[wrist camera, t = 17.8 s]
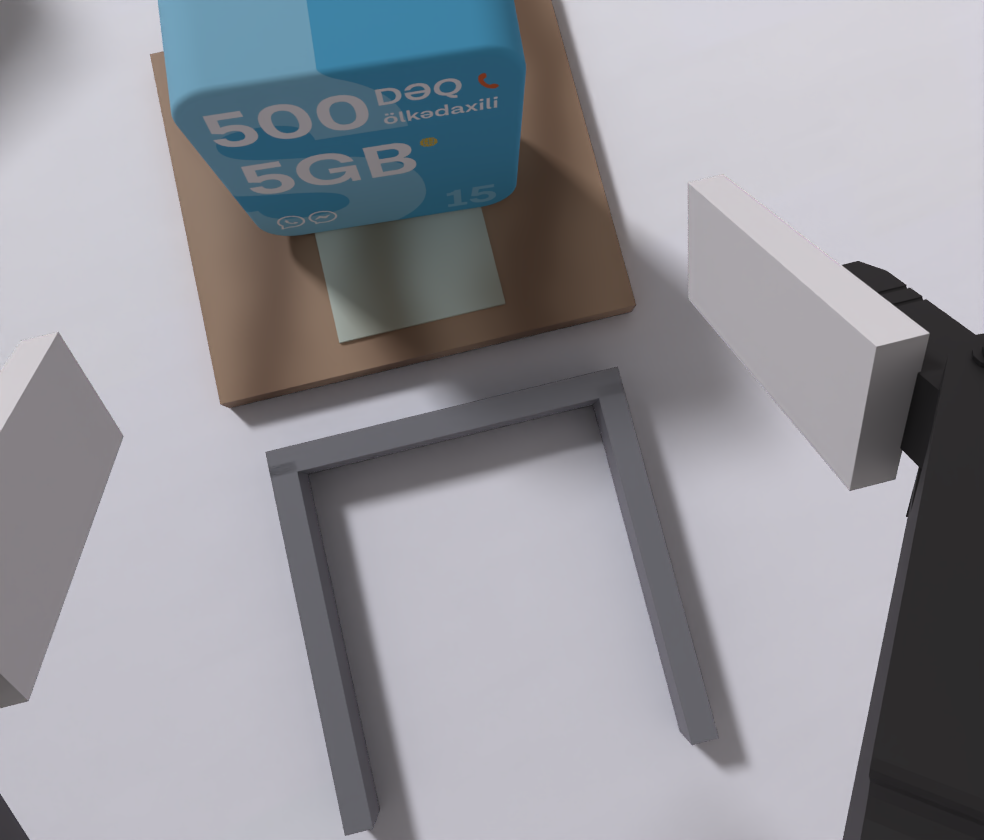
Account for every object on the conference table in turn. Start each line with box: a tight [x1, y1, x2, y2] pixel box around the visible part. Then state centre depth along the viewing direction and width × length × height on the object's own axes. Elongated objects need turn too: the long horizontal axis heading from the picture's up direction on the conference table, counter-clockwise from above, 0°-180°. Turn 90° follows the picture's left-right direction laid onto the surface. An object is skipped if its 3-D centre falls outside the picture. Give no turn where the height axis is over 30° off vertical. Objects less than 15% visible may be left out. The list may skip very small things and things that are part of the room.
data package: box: [158, 0, 526, 236], centre depth 29 cm, size 12×4×12 cm, turn 99°
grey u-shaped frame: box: [266, 367, 719, 836], centre depth 33 cm, size 16×17×2 cm
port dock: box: [150, 0, 636, 408], centre depth 36 cm, size 20×18×1 cm
